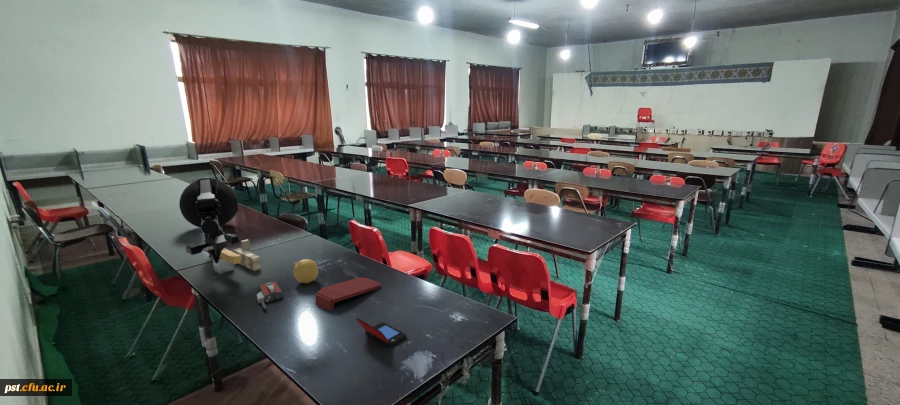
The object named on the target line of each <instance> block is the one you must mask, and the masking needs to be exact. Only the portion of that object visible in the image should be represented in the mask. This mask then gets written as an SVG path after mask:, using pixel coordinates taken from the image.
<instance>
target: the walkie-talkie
mask: <svg viewBox="0 0 900 405" xmlns="http://www.w3.org/2000/svg"><path fill="white" fill-rule="evenodd" d="M257 289H258V293H256V298H257V299H256V300H257V303H258V304H261V306H262V308H263V310H265V311H266V310H268V307H267V305H266V303H269V302H272V301H275V300H281V299H282V298H283V297H284V296H283V291H282V289H281V287H280V285H279V283H277V282H276V281H269V282H266V283H261V284H260V285H259V286H258V287H257Z"/></svg>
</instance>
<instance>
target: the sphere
mask: <svg viewBox="0 0 900 405" xmlns="http://www.w3.org/2000/svg"><path fill="white" fill-rule="evenodd" d="M214 179H215V180H216V181H217V187H218V189H217V190H216V192H217V195H216V196H215V199H216V200H218V201H219V202H220V208H221V212H219V214H220V215H217V217H218V223H219V225H220V226H221V227H222V226H225V225H226V224H228V223H229V222H230V221H232V220H233V218H234V217H235V216H236V215H237V213H238V211H239V207H238V206H239V205H238V204H239V203H238V202H239V201H238V197H237V195H236V192H235V191H234V190H233V188H232V187H230V185H228V184H226V183H225V182H223V181H221V180H219V179H217V178H214ZM198 196H199V193H198V191H196V187H195V181H193V182H192V183H190V184H188V185H187V186H186V187H185V188H184V189H183V191H182V193H181V194H180V198H179V202H178V205H179V211H180V213H181V215H182V216H183V218H184V219H185V220H186V222H188V223H190V224H191V225H192V226H194V227H198V228H200V229H201V223H202V221H201V217H200V218H197V211H196V202H197V197H198ZM217 212H218V210H217ZM203 213H204V212H203ZM199 215H200V212H199Z"/></svg>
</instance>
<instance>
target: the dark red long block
mask: <svg viewBox="0 0 900 405" xmlns="http://www.w3.org/2000/svg"><path fill="white" fill-rule="evenodd" d="M378 289H381V283H380V282H379V281H376V280H374V279H370V278H368V277H357V278H353V279H350V280H345V281H342V282H338V283H334V284H331V285H329V286H324V287H322V288H321V289H319V291H317V292H316V294H315V305H316V306H319V307H321V308H323V309H325V310H328V311H331V310H333V309H335V304H336V303H338V302H341V301H343V300H344V301H345V300H347V299H351V298H353V297H356V296H359V295H363V294H366V293H369V292H372V291H375V290H378Z"/></svg>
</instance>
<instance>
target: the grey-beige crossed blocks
mask: <svg viewBox="0 0 900 405" xmlns="http://www.w3.org/2000/svg"><path fill="white" fill-rule="evenodd" d="M240 245H241V246H240V247H241V248H240V247H239V248H236V249H233V252H234V253H236V254H238V255H241V262H240V263H238V264H239V265H240V266H243V267H245V268H247V269H249V270H251V271H252V272H253V271H254V272H256V271H259V270H262V266H261V259H260V256H259V255H257V254H254V253H252V250H251V244H250V239H247V238H246V239H244V240H240Z"/></svg>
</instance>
